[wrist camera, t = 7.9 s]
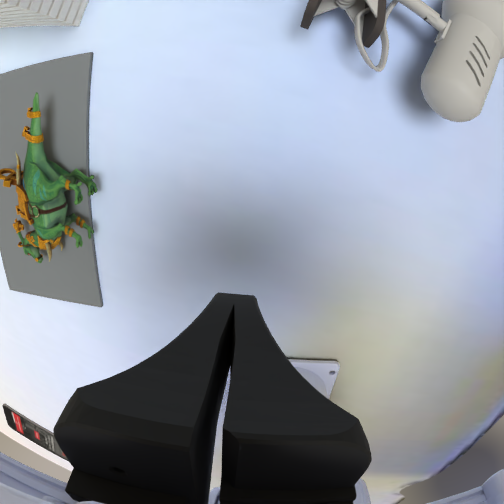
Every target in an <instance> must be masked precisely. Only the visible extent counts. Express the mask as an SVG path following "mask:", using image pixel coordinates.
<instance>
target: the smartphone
mask: <svg viewBox="0 0 504 504" xmlns="http://www.w3.org/2000/svg"><path fill="white" fill-rule="evenodd" d="M3 409H4V413H5V416H6V420H7V423H8V425H9V426H10V427H11V428H12V429H13V430H15V431H17V432H18V433H20V434H21V435H23V436H24V437H26V438H28V439H29V440H31V441H33V442H34V443H36V444H38V445H39V446H41V447H43V448H45V449H46V450H48V451H50V452H52V453H54V454H56V455H57V456H59V457H61V458H63V459H65V460H67V461H69V460H68V459H67V457H66V456H65V454H64V453H63V452H62V450H61V448H60V447H59V445H58V443H57V441H56V439H55V437H54V433H52V432H50V431H49V430H47V429H45V428H43V427H42V426H40V425H38V424H37V423H35V422H33V421H31V420H30V419H28V418H27V417H25V416H23V415H22V414H20V413H19V412H17V411H16V410H14V409H12V408H11V407H9V406H8V405H6V404H3Z"/></svg>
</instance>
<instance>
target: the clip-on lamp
mask: <svg viewBox="0 0 504 504" xmlns="http://www.w3.org/2000/svg"><path fill="white" fill-rule="evenodd" d="M398 2H400V3H401V4H403V5H404V6H406V7H407V8H408V9H410V10H411V11H413V12H414V13H415V14H417V15H418V16H420V17H421V18H422V19H424V20H425V21H426V22H428V23H429V24H430V25H431V26H433V27H434V28H435V29H436V30H438V31H439V33H438V35H437V37H436V39H435V41H434V42H435V43H436V46H435V48H434V50H433V52H432V54H431V57H430V59H429V61H428V63H427V65H426V67H425V69H424V71H423V73H422V75H421V90H422V93H423V96H424V98H425V100H426V102H427V103H428V105H429V106H430V108H431V109H432V110H433V111H434V112H436V113H437V114H438V115H439V116H441V117H443V118H445V119H447V120H450V121H454V122H465V121H470V120H472V119H473V118H475V117H477V116H478V115H479V114H480V113H481V110H482V107H483V105H484V102H485V100H486V97H487V95H488V92H489V89H490V86H491V84H492V81H493V78H494V75H495V72H496V69H497V66H498V63H499V60H500V59H502V58H504V0H443V3H442V15H441V16H442V19H441V18H440V14H438V13H437V12H436V11H434V10H433V9H432V8H430V7H429V6H428V5H426V4H425V3H424V2H422V1H421V0H393V1H392V2H391V3H390V5H389V6H388V7H387V9H386V0H309V2H308V4H307V7H306V10H305V13H304V16H303V20H302V23H301V27H303V28H306V29H308V28H309V26H310V24H311V22H312V20H313V18H314V16H317V15H319V14H322V13H325V12H327V11H330V10H333V9H335V8H338V7H340V8H341V9H343V10H345V11H346V12H347V14H348V16H349V17H350V19H351V21H352V23H353V24H354V33H355V40H356V44H357V47H358V49H359V52H360V53H361V55H362V57H363V59H364V60H365V62H366V63H367V64H368V65H369V66H370V67H371V68H372V69H374V70H375V71H378V72H381V71H382V70H383V69H384V67H385V64H386V61H387V57H388V51H389V39H388V34H387V30H386V21H387V19H388V16H389V14H390V13H391V11H392V9H393V8H394V7H395V5H396V4H397V3H398ZM379 35H380V36H381V41H382V53H381V59H380V62H379V64H378V66H376V67H375V66H374V65H373V63H372V62H371V60H370V59H369V57H368V55H367V53H366V51H365V49H364V46H365V47H368V48H369V47H370V46H371V45H372V44H373V43H374V42H375V40H376V39H377V38H378V37H379Z"/></svg>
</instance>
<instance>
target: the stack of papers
mask: <svg viewBox="0 0 504 504" xmlns="http://www.w3.org/2000/svg"><path fill="white" fill-rule="evenodd" d="M88 2H89V0H0V28H7V27H23V26H79V25H80V22H81V19H82V17H83V14H84V12H85V9H86V7H87V4H88Z"/></svg>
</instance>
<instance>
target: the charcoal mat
mask: <svg viewBox="0 0 504 504" xmlns="http://www.w3.org/2000/svg"><path fill="white" fill-rule="evenodd" d="M92 58H93V53H92V52H89V53H84V54H78V55H73V56H68V57H63V58H59V59H54V60H50V61H46V62H42V63H38V64H34V65H30V66H26V67H23V68H19V69H16V70H13V71H9V72H6V73H3V74H0V170H1V169H3V168H10V169H13V170H15V172H16V170H17V158H16V153H17V155H18V156H19V159H20V163H21V171H23V170H24V162H25V157H26V153H27V146H28V140H26V139H25V138H26V137H23V136H22V132H23V130H24V127H25V126H28V127H30V126H31V119H32V118H29V117H27V112H28V108H31V107H33V99H34V96H35V93H36V92H37V93H38V95H39V108H40V112H41V117H40V119H41V131H42V133H43V137H44V141H43V147H44V152H45V154H46V157H47V159H48V160H50V161H52V162H54V163H56V164H57V165H59V166H60V167H61V168H63V169H64V170H65V171H67V172H68V173H70V174H71V172H72V171H73V170H75V169H76V168H77V169H78V170H79V171H81V172H82V173H83V174H84V175H86V176H87V177H89V154H88V129H89V98H90V81H91V69H92ZM31 111H32V110H31ZM27 131H29V132H30V130H27ZM15 152H16V153H15ZM9 174H11V173H5V174H2V175H4V176H8V175H9ZM3 181H4V180H2V179H0V251H1V256H2V260H3V265H4V269H5V273H6V277H7V281H8V285H9V288H10V290H14V291H18V292H23V293H28V294H33V295H37V296H42V297H47V298H52V299H58V300H63V301H68V302H74V303H79V304H85V305H91V306H97V307H102V306H103V302H102V296H101V290H100V284H99V277H98V270H97V263H96V255H95V247H94V237H93V234H92V233H91V238H90V239H89V238H88V231H87V229H85V228H80V226H78V225H76V223H75V222H72V223H71V224H70V225H69V227H71V228H73V229H74V230H75V232H76V233H77V234H79V235H80V236H81V238H82V242H83V245H82V247H80V246H79V247H78V248H77V247H76V239H75V238H74V237H69V235H66V234H65V232H64V231H62V234H61V241H62V243H63V249H62V251H61V247H60V246H59V245H57V246H56V247H55V248H54V249H52V257H51V260H50V262H49V256H48V253H47V250H44V249H40V248H39V253H40V254H42V255H43V261H42V263H38V262H36V261H35V259H34V258H33V257H32V256H28V255H26V254H25V253H24V250H23V247H18V243H19V242H21V240H20V238H19V236H18V234H17V233H16V230H15V229H14V227H13V223H15V219H16V218H17V221H18V220H20V221H21V223H22V224H23V225H24V230H21V234H22V237H23V238H24V239H25V236H26V234H27V232H30V231H33V230H35V229H34V227H33V225H30V224H29V222H28V221H27V220H25V219H24V218H22V217H21V215H20V214H19V215H17V211H16V207H15V206H17V205H19V203H18V194H17V192H16V186H15V185H11V187H10V188H9V187H4V186H3ZM79 182H81V181H80V180H77V181H76V183H75V184H77V183H79ZM81 183H82V182H81ZM79 188H80V189H81V194H82V196H83V200H82V201H81V203H80V204H77V205H75V204H74V201H75V191H74V190H68V191H66V192H64V195H65V198H66V201H67V205H68V207H67V213H66V216H69V215H71V214H72V213H74V214H75V216H79V217H80V218H81V219H83V220H84V221H85V222H86V224H87V225H88V226H90V227H91V228H92V230H93V227H92V216H91V203H90V196H88V187H87V186H86V185H85V184H84V183H82V185H81V186H79ZM21 245H22V244H21Z"/></svg>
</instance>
